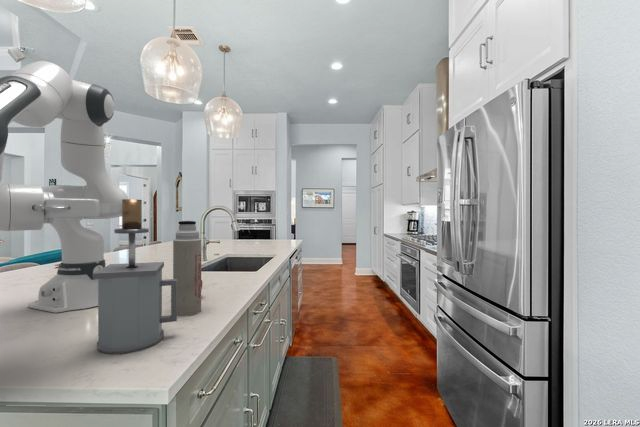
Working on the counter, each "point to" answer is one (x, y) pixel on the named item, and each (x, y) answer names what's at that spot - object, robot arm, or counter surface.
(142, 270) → the press carafe
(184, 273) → the thermos bottle
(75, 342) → the counter surface
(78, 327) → the counter surface
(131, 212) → the brown candle holder
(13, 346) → the counter surface
